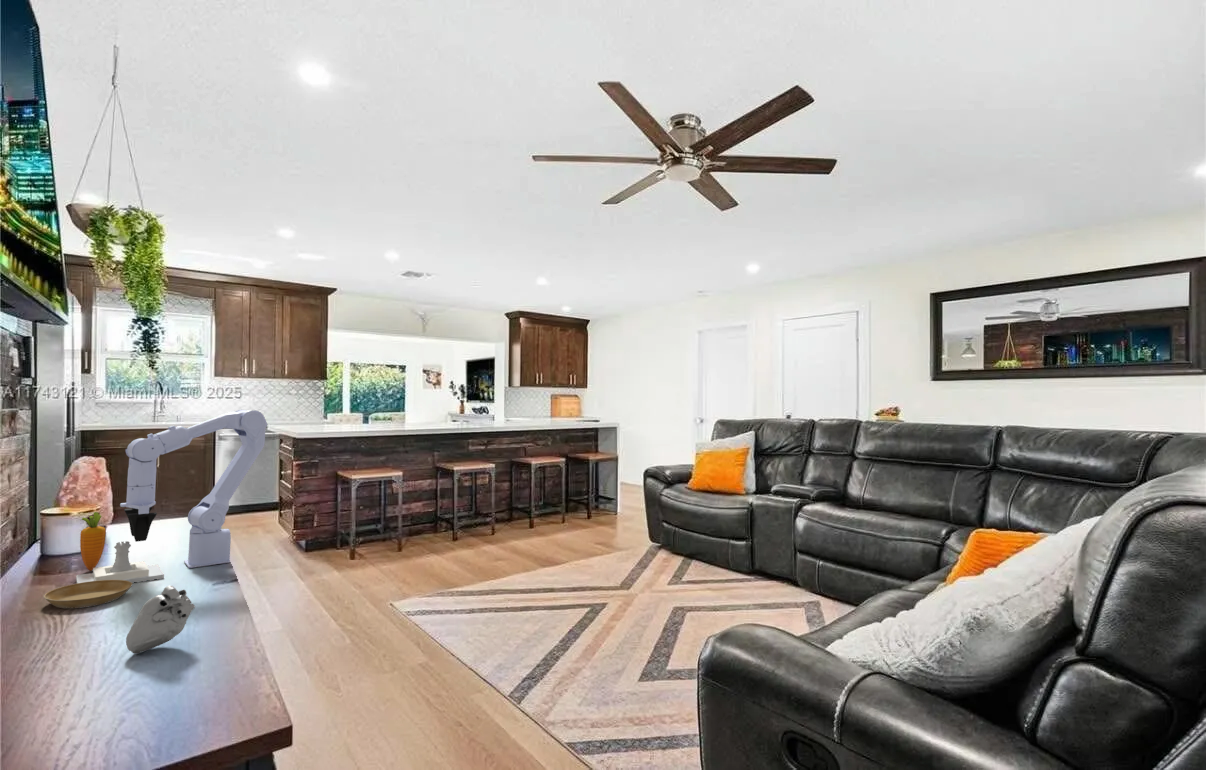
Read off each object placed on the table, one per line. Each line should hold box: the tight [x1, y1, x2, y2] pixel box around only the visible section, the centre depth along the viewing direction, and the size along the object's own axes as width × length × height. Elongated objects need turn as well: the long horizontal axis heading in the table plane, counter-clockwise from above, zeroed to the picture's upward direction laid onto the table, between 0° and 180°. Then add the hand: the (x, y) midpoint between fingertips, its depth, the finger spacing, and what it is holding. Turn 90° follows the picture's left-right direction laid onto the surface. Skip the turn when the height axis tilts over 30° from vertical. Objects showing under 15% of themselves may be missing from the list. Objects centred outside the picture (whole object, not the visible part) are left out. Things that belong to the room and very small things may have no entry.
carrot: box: [79, 511, 107, 572], centre depth 148 cm, size 5×5×15 cm
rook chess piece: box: [110, 540, 132, 573], centre depth 143 cm, size 4×4×8 cm
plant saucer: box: [43, 580, 133, 609], centre depth 127 cm, size 15×15×3 cm
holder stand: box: [75, 560, 165, 584], centre depth 142 cm, size 16×12×2 cm
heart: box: [125, 585, 196, 655], centre depth 104 cm, size 10×10×12 cm
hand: (138, 538), depth 146 cm, fingers open, 7 cm apart
